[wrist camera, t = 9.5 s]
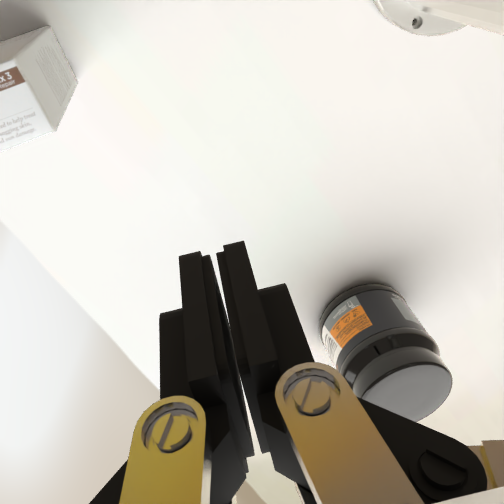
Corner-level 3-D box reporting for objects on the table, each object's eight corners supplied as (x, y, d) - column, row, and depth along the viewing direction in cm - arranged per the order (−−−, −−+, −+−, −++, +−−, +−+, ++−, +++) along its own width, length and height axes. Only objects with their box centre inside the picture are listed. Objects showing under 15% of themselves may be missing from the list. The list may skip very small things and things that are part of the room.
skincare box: (6, 109, 35) (-47, 179, 25) (-33, 48, 32) (-109, 100, 22) (83, 81, 35) (61, 139, 25) (51, 17, 32) (11, 54, 22)
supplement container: (297, 326, 54) (332, 414, 44) (364, 263, 50) (418, 343, 40) (355, 359, 59) (397, 443, 49) (419, 304, 55) (478, 383, 46)
